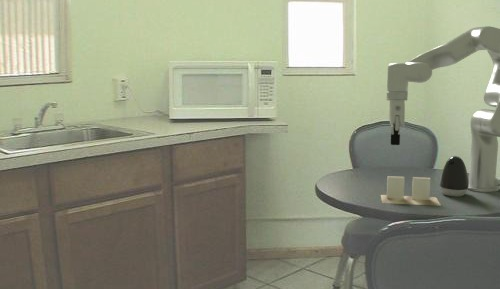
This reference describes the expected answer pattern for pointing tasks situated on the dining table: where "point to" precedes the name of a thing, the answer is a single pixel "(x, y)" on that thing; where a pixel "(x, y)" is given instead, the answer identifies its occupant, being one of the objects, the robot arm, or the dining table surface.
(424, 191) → the tile
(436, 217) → the dining table surface
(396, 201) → the cork mat
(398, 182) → the tile
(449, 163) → the black rounded dome
